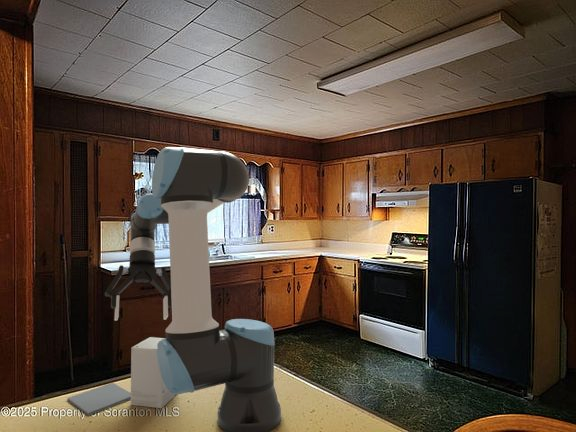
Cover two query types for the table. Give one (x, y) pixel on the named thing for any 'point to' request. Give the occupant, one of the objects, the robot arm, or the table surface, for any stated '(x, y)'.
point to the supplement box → (147, 376)
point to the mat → (100, 398)
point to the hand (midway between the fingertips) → (141, 318)
